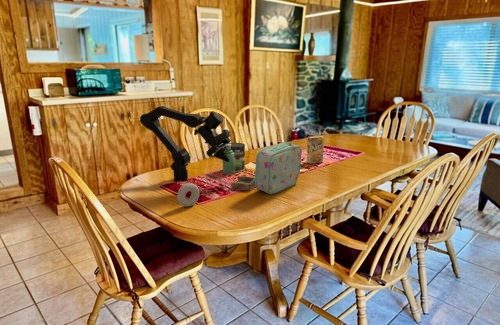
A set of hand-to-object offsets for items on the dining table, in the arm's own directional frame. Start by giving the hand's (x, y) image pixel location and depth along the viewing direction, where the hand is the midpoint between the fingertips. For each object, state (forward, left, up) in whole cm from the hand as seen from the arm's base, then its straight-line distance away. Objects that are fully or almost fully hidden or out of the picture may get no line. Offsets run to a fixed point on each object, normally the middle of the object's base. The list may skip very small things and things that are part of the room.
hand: (231, 159), depth 167 cm
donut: (-21, -23, -13) cm, 33 cm away
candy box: (+53, +30, -13) cm, 63 cm away
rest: (+5, -3, -12) cm, 14 cm away
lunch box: (+21, -8, -13) cm, 26 cm away
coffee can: (+5, +24, -13) cm, 28 cm away
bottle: (-1, +1, -7) cm, 7 cm away
